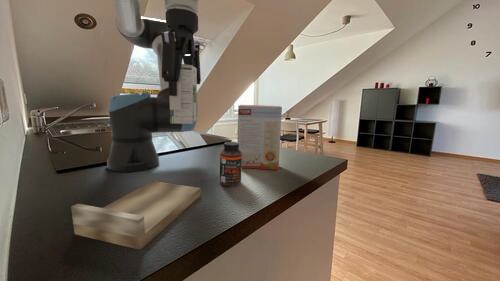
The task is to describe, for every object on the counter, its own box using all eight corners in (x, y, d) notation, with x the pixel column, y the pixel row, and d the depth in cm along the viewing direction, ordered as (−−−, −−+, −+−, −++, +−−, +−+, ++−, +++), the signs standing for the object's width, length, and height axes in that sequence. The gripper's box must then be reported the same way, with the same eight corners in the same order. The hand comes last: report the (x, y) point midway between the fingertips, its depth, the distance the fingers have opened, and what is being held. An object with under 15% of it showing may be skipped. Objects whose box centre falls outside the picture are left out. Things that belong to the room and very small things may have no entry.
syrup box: (175, 121, 62) (174, 65, 59) (197, 121, 62) (196, 66, 59) (169, 123, 56) (167, 63, 53) (194, 124, 57) (193, 64, 54)
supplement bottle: (224, 188, 58) (224, 146, 56) (216, 180, 63) (216, 141, 61) (244, 185, 61) (246, 144, 59) (235, 177, 66) (236, 140, 64)
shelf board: (74, 234, 38) (71, 206, 37) (153, 188, 57) (152, 169, 56) (140, 249, 35) (138, 220, 34) (200, 195, 54) (200, 176, 53)
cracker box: (278, 165, 80) (281, 105, 76) (278, 170, 74) (282, 106, 70) (239, 162, 81) (240, 104, 77) (236, 168, 75) (237, 104, 71)
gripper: (171, -7, 43) (175, 112, 48) (213, 24, 62) (213, 107, 67) (138, -4, 45) (145, 110, 50) (189, 25, 64) (190, 106, 69)
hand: (184, 108), depth 58 cm, fingers closed on syrup box, 7 cm apart
